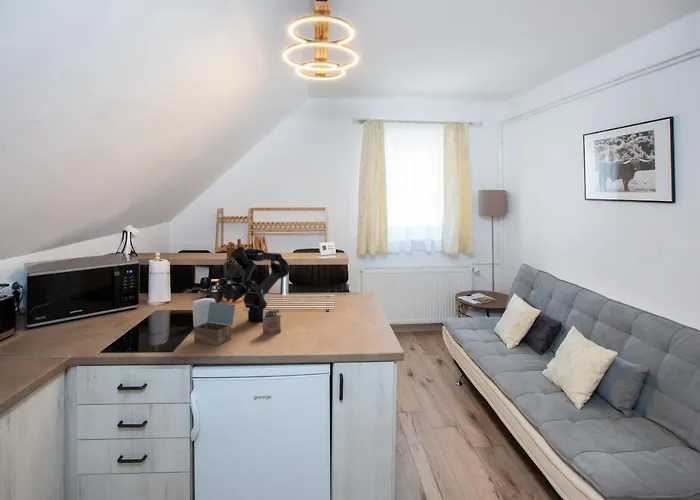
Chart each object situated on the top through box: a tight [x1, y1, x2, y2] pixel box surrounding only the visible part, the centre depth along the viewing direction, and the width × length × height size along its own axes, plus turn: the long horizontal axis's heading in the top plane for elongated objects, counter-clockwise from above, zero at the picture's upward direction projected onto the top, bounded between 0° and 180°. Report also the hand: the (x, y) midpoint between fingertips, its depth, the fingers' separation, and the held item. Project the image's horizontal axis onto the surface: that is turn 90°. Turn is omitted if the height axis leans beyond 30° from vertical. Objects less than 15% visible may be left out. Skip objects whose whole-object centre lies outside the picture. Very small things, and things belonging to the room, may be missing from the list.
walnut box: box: [193, 322, 232, 347], centre depth 173 cm, size 8×12×6 cm, turn 67°
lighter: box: [262, 309, 282, 336], centre depth 182 cm, size 8×3×10 cm, turn 117°
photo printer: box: [192, 297, 217, 328], centre depth 193 cm, size 10×4×12 cm, turn 123°
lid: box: [207, 301, 236, 326], centre depth 177 cm, size 8×12×1 cm
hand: (229, 301), depth 182 cm, fingers open, 3 cm apart
